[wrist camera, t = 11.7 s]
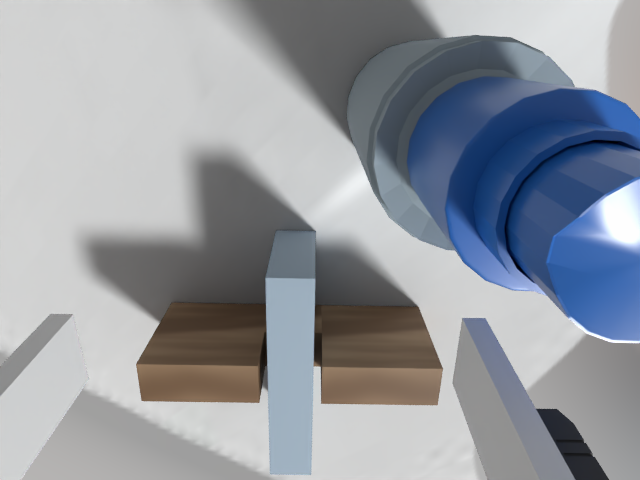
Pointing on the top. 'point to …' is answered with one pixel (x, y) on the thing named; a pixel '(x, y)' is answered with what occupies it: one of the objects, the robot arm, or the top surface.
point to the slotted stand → (329, 353)
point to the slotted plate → (290, 350)
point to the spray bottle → (508, 171)
